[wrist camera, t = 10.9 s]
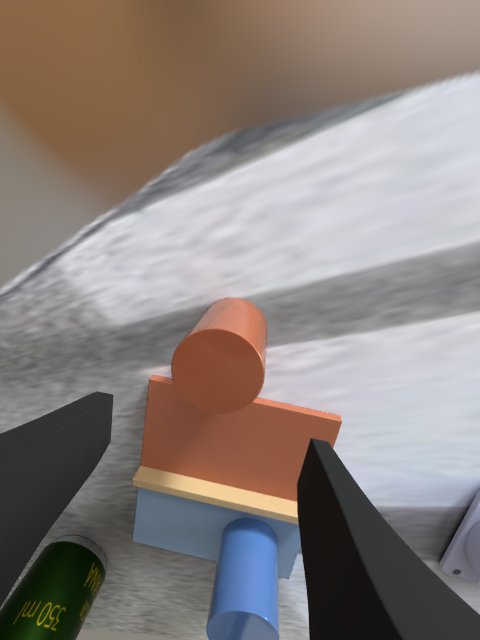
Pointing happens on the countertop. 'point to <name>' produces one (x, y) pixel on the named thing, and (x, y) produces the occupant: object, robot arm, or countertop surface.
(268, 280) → the countertop surface
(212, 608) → the cylinder
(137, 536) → the board
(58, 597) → the green drink can
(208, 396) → the orange cylinder
